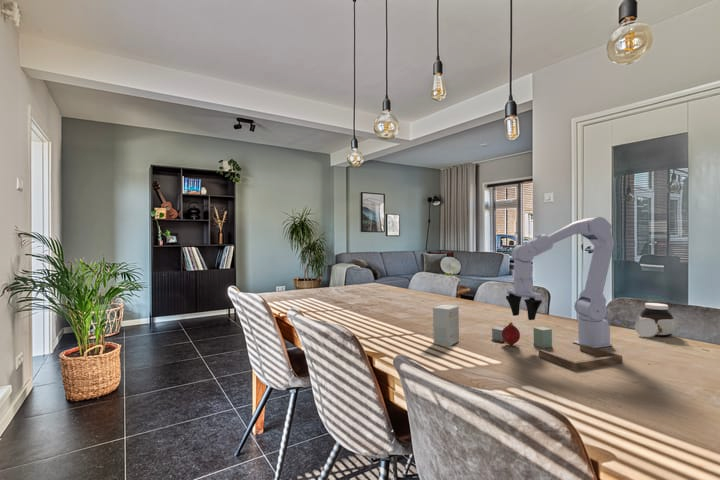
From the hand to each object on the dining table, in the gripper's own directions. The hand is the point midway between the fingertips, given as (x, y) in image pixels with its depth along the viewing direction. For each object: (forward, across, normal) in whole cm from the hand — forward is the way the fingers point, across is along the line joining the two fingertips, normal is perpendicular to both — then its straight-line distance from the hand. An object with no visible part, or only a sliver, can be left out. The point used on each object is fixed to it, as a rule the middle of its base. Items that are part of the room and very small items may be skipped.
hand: (523, 317), depth 129 cm
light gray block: (+9, -8, -4) cm, 13 cm away
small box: (+9, -11, -25) cm, 28 cm away
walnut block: (+9, +18, +4) cm, 21 cm away
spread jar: (+10, +8, +53) cm, 54 cm away
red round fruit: (+10, 0, -5) cm, 11 cm away
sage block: (+9, +4, +5) cm, 11 cm away
